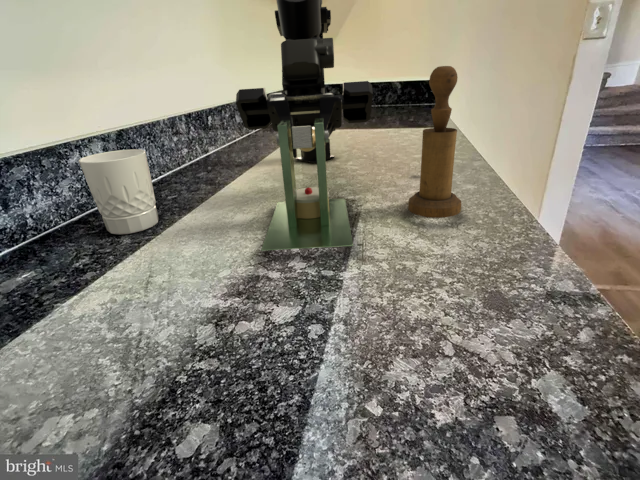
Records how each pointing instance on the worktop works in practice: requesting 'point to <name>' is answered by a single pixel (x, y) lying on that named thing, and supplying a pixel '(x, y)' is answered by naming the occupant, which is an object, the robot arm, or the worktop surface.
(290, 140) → the slicer bracket
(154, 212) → the white cup
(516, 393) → the worktop surface
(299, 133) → the lever
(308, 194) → the cake
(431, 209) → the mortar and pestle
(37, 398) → the worktop surface
